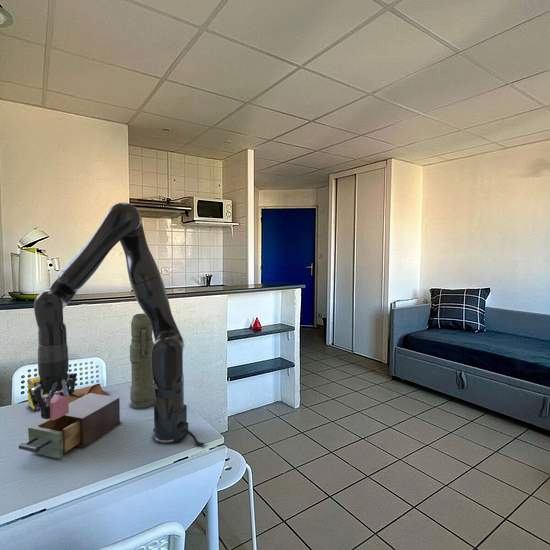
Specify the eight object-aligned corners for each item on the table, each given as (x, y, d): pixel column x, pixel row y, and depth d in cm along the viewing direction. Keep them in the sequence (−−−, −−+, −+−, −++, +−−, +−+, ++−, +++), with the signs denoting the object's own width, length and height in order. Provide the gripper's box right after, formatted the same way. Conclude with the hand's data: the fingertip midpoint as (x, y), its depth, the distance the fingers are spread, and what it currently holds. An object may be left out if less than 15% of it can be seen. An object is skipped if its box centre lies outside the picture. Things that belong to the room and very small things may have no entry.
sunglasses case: (58, 410, 128) (55, 392, 130) (53, 414, 133) (50, 396, 134) (108, 395, 142) (105, 379, 143) (103, 399, 146) (99, 384, 148)
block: (68, 412, 105) (68, 396, 104) (54, 420, 100) (53, 403, 100) (55, 410, 106) (55, 394, 106) (40, 417, 101) (40, 401, 101)
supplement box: (34, 411, 128) (33, 382, 127) (28, 407, 132) (27, 378, 131) (52, 406, 133) (51, 378, 132) (46, 401, 136) (45, 374, 135)
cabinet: (83, 447, 105) (82, 418, 105) (51, 440, 109) (49, 412, 108) (120, 423, 120) (119, 397, 120) (90, 417, 124) (89, 392, 123)
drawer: (43, 469, 94) (42, 443, 93) (11, 461, 97) (10, 436, 96) (99, 433, 112) (98, 411, 112) (71, 427, 115) (70, 406, 115)
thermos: (150, 395, 143) (149, 311, 140) (159, 406, 133) (158, 316, 131) (127, 400, 138) (125, 313, 135) (134, 412, 128) (133, 318, 126)
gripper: (40, 366, 94) (42, 428, 95) (83, 352, 108) (85, 405, 109) (19, 363, 96) (21, 423, 97) (64, 349, 110) (66, 402, 111)
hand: (55, 413), depth 103 cm, fingers closed on block, 5 cm apart
